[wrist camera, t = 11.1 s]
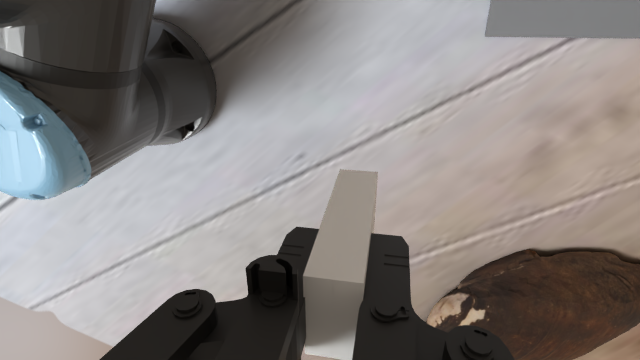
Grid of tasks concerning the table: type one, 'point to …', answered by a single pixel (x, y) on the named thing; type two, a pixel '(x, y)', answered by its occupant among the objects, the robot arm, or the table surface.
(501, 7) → the mat
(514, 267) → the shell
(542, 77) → the table surface
